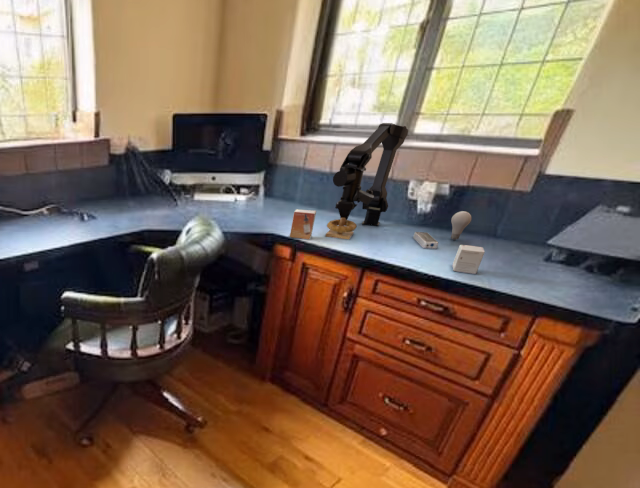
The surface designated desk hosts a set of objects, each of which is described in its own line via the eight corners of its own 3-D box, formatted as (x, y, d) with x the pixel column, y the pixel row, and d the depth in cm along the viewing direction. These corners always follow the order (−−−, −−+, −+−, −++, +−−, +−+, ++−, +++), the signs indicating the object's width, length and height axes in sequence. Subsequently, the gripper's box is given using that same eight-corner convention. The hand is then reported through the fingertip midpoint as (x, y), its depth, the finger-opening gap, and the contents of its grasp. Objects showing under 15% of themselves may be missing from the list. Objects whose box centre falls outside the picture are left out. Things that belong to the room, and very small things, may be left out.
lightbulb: (457, 243, 161) (468, 214, 156) (441, 239, 166) (451, 211, 161) (466, 240, 164) (477, 212, 158) (450, 237, 168) (460, 209, 163)
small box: (289, 237, 173) (293, 211, 168) (291, 234, 177) (295, 208, 172) (309, 239, 169) (314, 213, 164) (311, 236, 174) (316, 210, 169)
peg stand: (330, 231, 179) (333, 214, 176) (353, 234, 175) (357, 216, 171) (325, 236, 173) (329, 219, 169) (349, 239, 168) (353, 221, 165)
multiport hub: (425, 238, 168) (427, 232, 167) (436, 248, 156) (438, 242, 155) (412, 237, 169) (414, 231, 168) (423, 248, 157) (425, 241, 156)
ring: (330, 223, 179) (331, 217, 178) (358, 226, 173) (359, 220, 172) (323, 231, 172) (325, 225, 170) (352, 234, 166) (354, 228, 165)
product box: (452, 271, 135) (460, 249, 132) (451, 265, 140) (459, 244, 136) (476, 274, 132) (485, 252, 129) (474, 268, 137) (483, 246, 133)
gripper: (371, 188, 156) (361, 230, 164) (378, 181, 170) (368, 220, 177) (339, 186, 162) (330, 226, 170) (348, 179, 175) (340, 217, 183)
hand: (343, 222), depth 175 cm, fingers closed on ring, 2 cm apart
